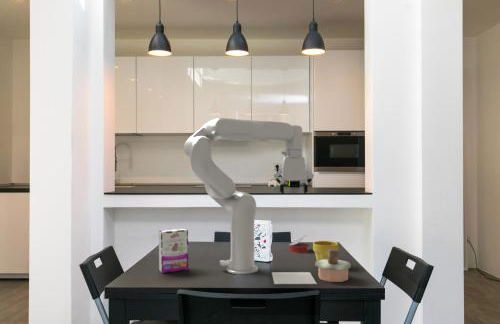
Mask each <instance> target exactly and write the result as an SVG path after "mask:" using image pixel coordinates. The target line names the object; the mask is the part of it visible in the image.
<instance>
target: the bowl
mask: <svg viewBox="0 0 500 324" xmlns="http://www.w3.org/2000/svg"><path fill="white" fill-rule="evenodd" d="M317 268H318V270H317V271H318V272H317V274H318V276H317V277H318V278H319V280H322V281H325V282H330V283H335V282H336V283H342V282H345V281H348V280H349V269H345V270H327V269H322V268H319V267H317Z"/></svg>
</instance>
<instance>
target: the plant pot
mask: <svg viewBox="0 0 500 324" xmlns="http://www.w3.org/2000/svg"><path fill="white" fill-rule="evenodd" d="M312 249H313V252H314V255H315V259H316V261H318V260H324V259H328V249H336V250H337V251H338V252H339V243H338V242H336V241H332V240H317V241H313V243H312Z"/></svg>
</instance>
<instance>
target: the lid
mask: <svg viewBox="0 0 500 324" xmlns="http://www.w3.org/2000/svg"><path fill="white" fill-rule="evenodd" d="M338 252H339V250H338V251H337V250H336V249H328V259H324V260H318V261H317V260H316V261H315V263H314V266H315V267H317V268H318V267H319V268H322V269H327V270H345V269H348V270H349V269H350V268H351V266H352V264H351V262H349V261H346V260H341V259H339V258H338V257H339V253H338Z"/></svg>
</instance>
